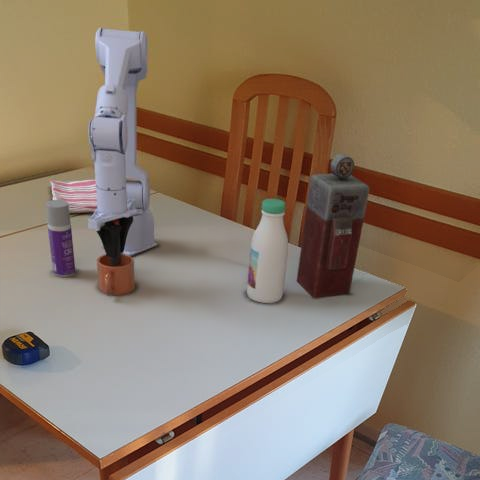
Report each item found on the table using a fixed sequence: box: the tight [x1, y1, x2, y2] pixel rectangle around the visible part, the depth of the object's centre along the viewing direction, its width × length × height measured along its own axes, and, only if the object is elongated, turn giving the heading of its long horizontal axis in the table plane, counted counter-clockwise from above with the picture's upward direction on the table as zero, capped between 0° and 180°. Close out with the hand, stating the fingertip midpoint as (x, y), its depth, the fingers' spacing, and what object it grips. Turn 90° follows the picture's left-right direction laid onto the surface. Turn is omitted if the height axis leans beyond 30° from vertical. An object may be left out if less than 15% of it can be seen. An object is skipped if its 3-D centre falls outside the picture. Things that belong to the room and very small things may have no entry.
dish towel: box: [49, 179, 97, 214], centre depth 172 cm, size 17×23×4 cm
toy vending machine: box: [296, 153, 370, 299], centre depth 130 cm, size 9×11×28 cm
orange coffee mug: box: [96, 253, 136, 297], centre depth 129 cm, size 10×7×6 cm
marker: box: [110, 219, 122, 265], centre depth 126 cm, size 2×2×9 cm
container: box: [45, 199, 76, 278], centre depth 132 cm, size 5×5×15 cm
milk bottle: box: [246, 198, 289, 304], centre depth 128 cm, size 8×8×20 cm
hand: (115, 254), depth 128 cm, fingers closed on marker, 2 cm apart
